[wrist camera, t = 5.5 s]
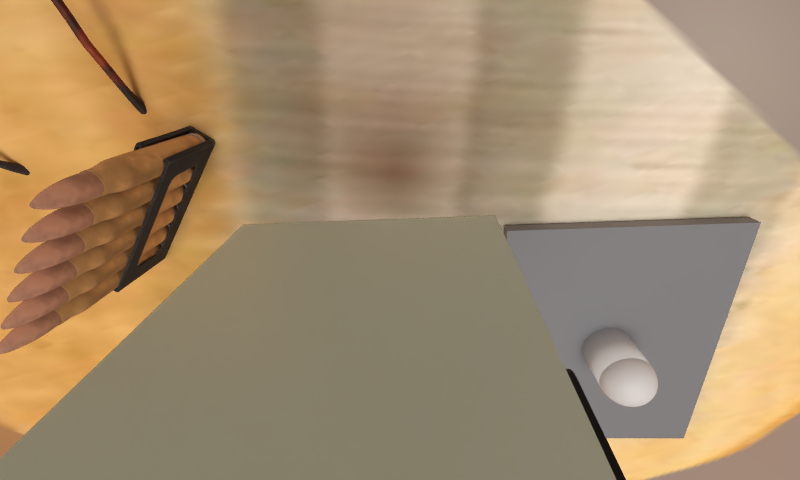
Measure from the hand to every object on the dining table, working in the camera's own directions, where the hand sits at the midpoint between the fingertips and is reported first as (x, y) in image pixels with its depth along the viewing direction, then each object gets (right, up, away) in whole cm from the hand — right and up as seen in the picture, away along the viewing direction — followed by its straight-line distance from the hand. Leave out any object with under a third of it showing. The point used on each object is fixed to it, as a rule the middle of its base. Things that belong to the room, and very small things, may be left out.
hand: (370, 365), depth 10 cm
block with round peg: (0, -1, +2) cm, 2 cm away
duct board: (+17, -4, +20) cm, 27 cm away
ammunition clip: (-15, +6, +17) cm, 24 cm away
